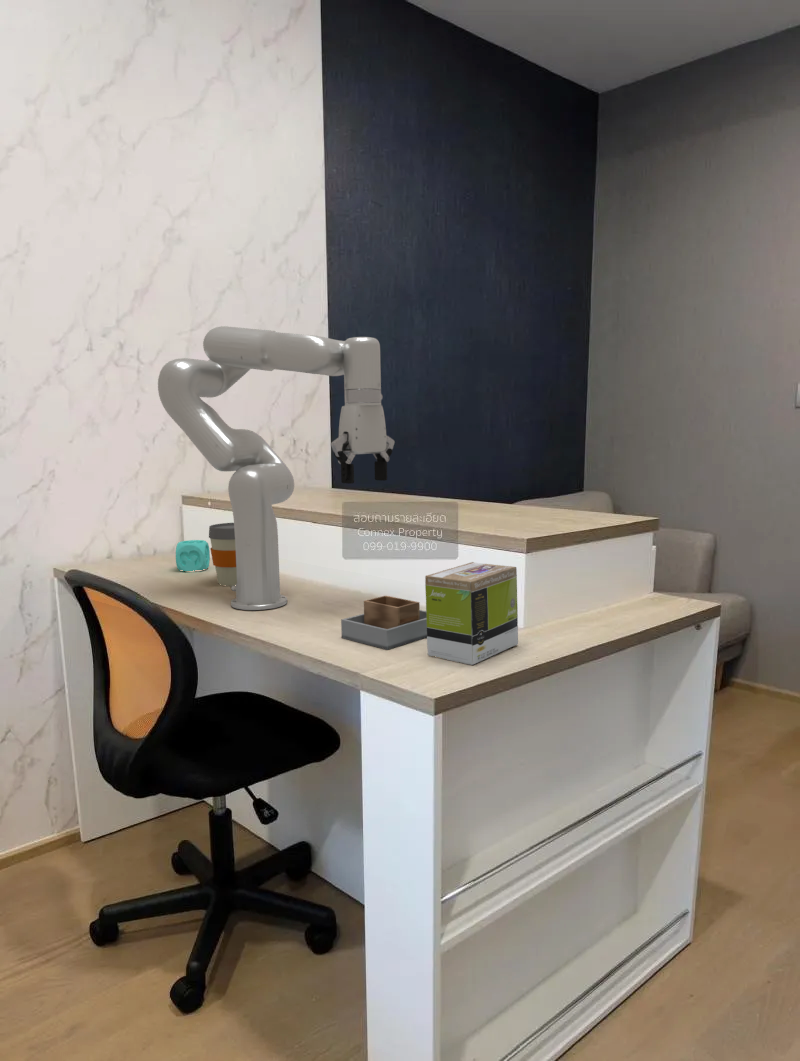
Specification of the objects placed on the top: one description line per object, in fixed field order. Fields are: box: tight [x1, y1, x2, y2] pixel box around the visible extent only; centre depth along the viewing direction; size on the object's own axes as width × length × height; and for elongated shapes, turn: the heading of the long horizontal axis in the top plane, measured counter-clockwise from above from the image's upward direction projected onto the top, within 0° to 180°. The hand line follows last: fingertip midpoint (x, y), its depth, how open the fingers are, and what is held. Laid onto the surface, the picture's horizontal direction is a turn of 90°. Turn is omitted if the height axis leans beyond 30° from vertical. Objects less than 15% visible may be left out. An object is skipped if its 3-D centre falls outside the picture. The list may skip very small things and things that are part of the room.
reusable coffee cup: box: [208, 522, 237, 587], centre depth 199 cm, size 13×13×15 cm
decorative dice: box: [175, 539, 211, 571], centre depth 218 cm, size 8×8×8 cm
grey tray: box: [340, 609, 427, 651], centre depth 147 cm, size 12×15×4 cm
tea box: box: [424, 561, 519, 666], centre depth 136 cm, size 15×10×15 cm
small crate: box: [363, 595, 421, 629], centre depth 147 cm, size 9×6×6 cm, turn 47°
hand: (364, 481), depth 161 cm, fingers open, 9 cm apart
